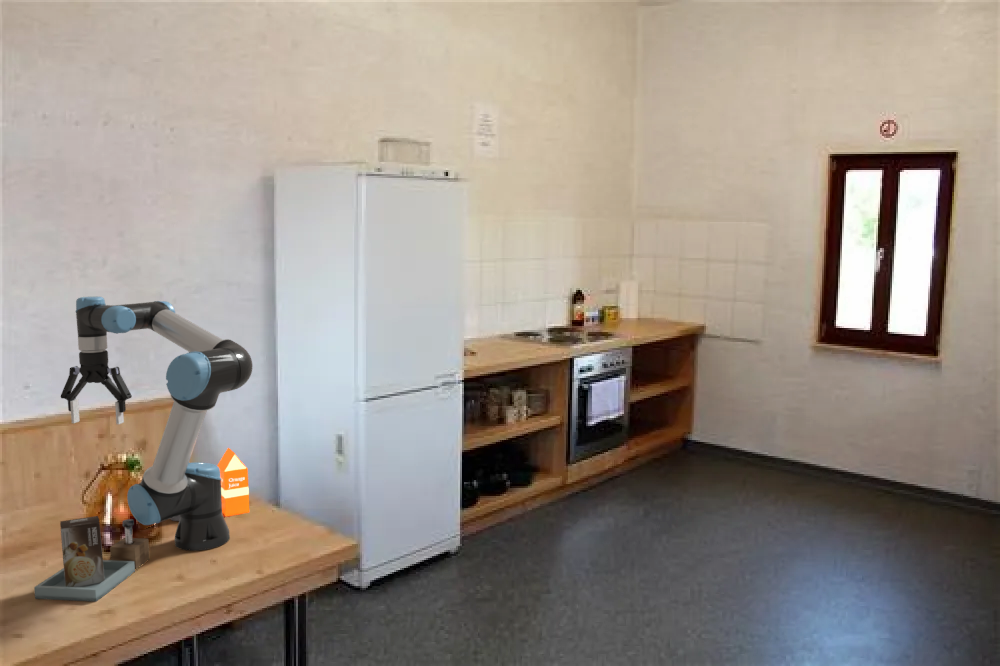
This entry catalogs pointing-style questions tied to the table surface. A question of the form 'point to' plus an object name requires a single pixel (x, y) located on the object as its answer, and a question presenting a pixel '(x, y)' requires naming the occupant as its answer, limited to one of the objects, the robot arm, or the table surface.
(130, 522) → the peg
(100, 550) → the coffee box
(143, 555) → the walnut block
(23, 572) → the table surface
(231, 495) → the orange juice
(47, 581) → the tray
